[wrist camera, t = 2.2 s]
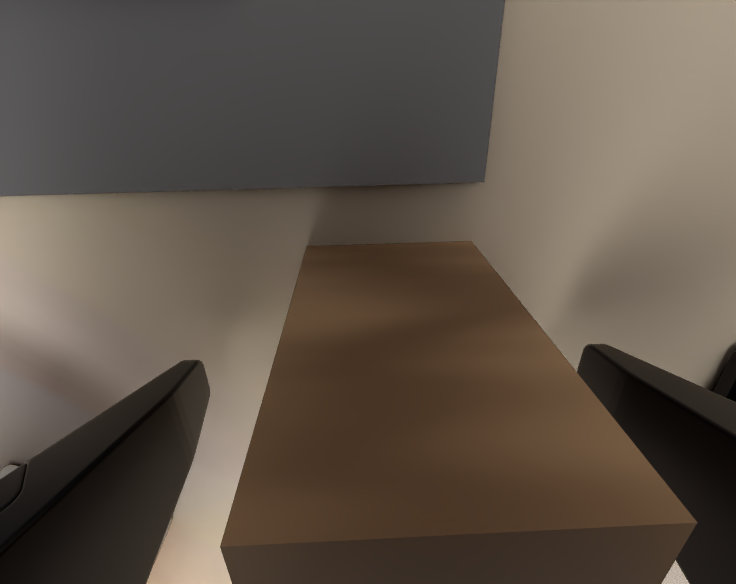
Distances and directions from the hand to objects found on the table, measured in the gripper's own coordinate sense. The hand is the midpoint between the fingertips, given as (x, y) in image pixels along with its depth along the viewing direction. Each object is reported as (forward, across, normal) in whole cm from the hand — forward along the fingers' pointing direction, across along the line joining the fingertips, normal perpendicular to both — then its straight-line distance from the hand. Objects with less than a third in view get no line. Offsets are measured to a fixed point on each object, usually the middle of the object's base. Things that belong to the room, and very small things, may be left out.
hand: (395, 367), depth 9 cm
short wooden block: (+2, 0, 0) cm, 2 cm away
